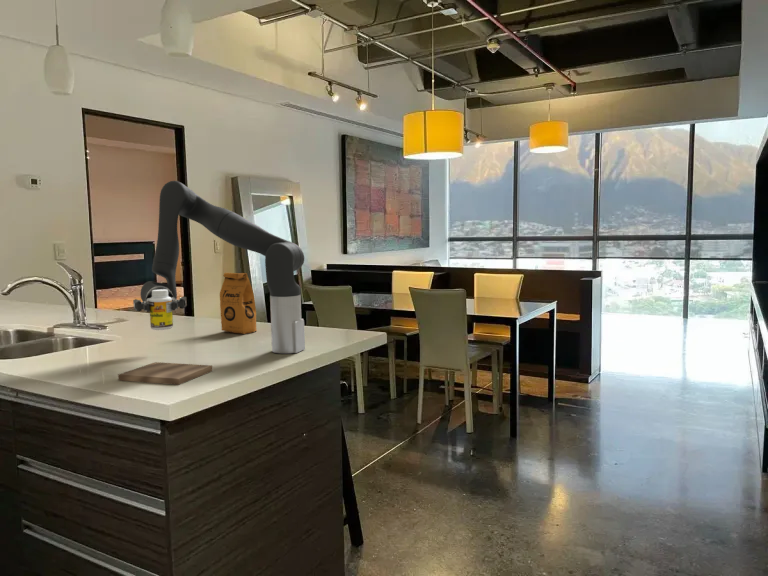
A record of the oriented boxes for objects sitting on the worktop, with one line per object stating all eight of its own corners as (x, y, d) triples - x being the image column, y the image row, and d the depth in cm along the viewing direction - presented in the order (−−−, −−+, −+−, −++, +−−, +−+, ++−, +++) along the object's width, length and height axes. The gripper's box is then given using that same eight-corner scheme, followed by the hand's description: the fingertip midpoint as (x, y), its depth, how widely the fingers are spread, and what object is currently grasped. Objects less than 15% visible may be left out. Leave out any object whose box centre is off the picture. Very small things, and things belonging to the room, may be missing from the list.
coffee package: (241, 335, 206) (238, 274, 204) (217, 332, 213) (214, 273, 211) (261, 331, 215) (259, 272, 212) (238, 328, 222) (235, 271, 219)
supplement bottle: (146, 330, 151) (143, 291, 150) (160, 326, 156) (158, 288, 155) (163, 330, 149) (161, 291, 148) (177, 327, 155) (175, 289, 154)
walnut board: (212, 371, 154) (212, 365, 154) (179, 384, 141) (178, 378, 141) (155, 367, 160) (155, 362, 160) (118, 380, 146) (118, 374, 146)
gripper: (131, 288, 162) (129, 294, 147) (185, 285, 168) (189, 291, 152) (133, 314, 163) (131, 323, 148) (187, 311, 168) (191, 319, 153)
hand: (161, 307), depth 150 cm, fingers closed on supplement bottle, 5 cm apart
